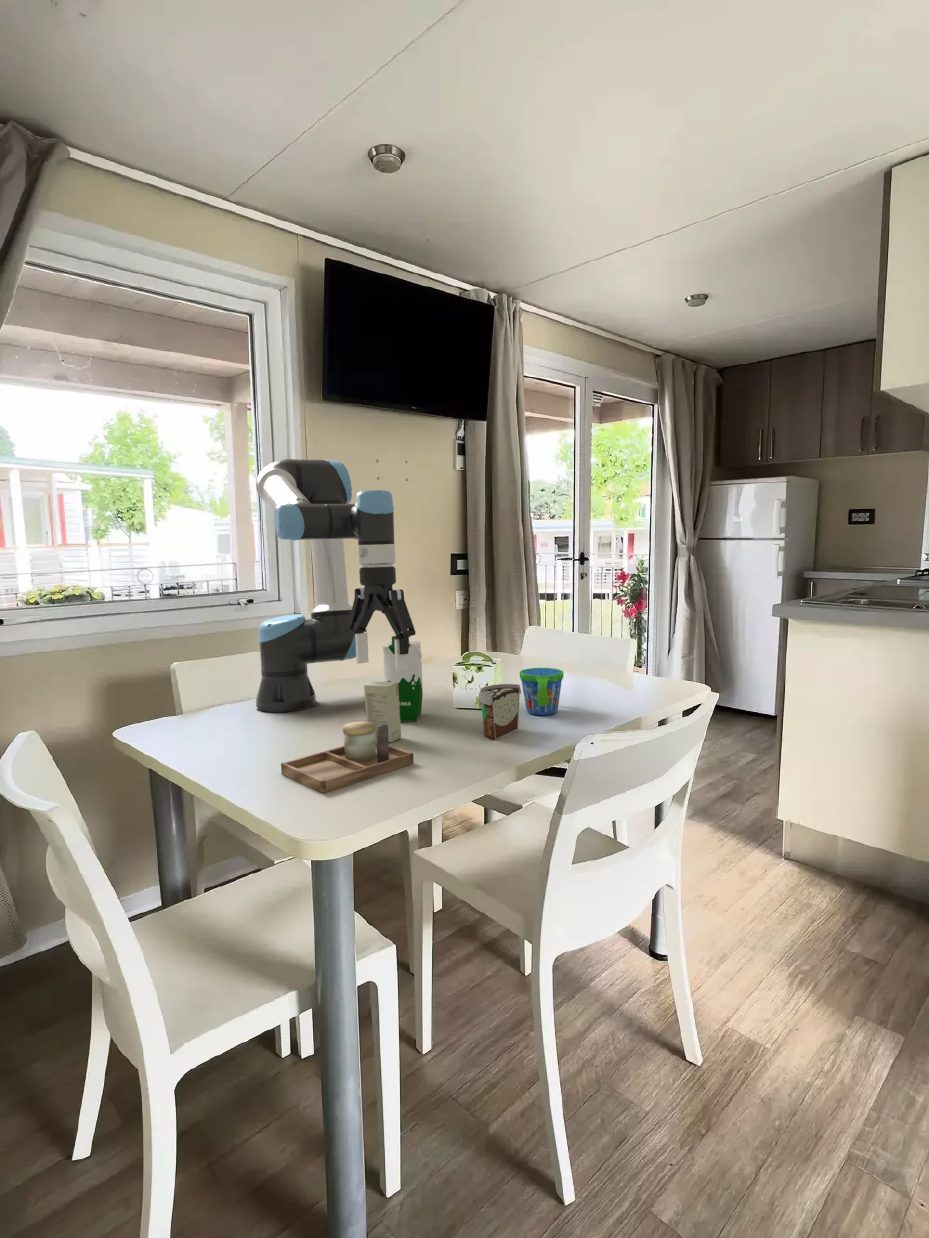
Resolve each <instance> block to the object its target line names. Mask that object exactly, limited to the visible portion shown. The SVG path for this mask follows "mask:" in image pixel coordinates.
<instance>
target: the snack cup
mask: <svg viewBox="0 0 929 1238" xmlns="http://www.w3.org/2000/svg"><path fill="white" fill-rule="evenodd" d="M519 678H520V681H521V685H522V693H523V697H524V704H525V709H526V711H527V712H528V714H531V715H535V716H550V715H553V714H556V713H557V712H558V710H559V703H560V698H561V689H562V682H563V679H564V671H563V670H561V669H560V668H559V669H558V668H554V667H553V668H551V667H533V668H532V667H531V668H525V669H522V670H520V671H519Z"/></svg>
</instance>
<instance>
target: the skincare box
mask: <svg viewBox="0 0 929 1238" xmlns="http://www.w3.org/2000/svg"><path fill="white" fill-rule="evenodd" d="M363 688H364V689H363V690H364V703H365V715H366V718H365V719H366V721H365V722H372V723H374V724H375V741H377V736H376V725H378V724H387V725H388V743H393V742H395V741H396V740H398V739H400V738H401V737H402V729H401V728H402V726H401V721H400V707H399V692H398V682H384V681H375V680H373V681H371V682H369V683H366V684H363Z"/></svg>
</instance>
